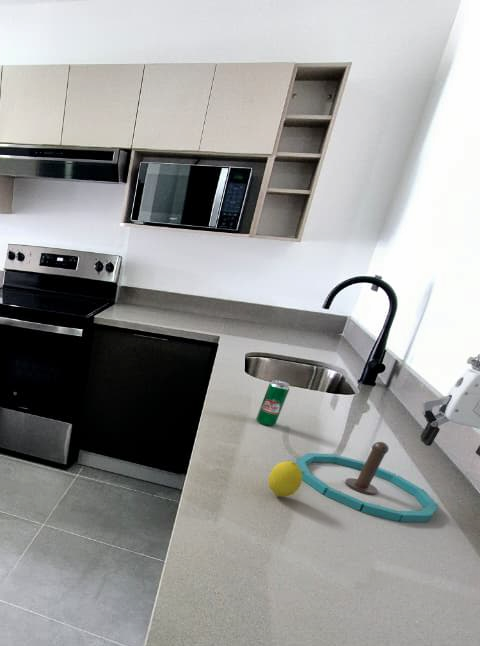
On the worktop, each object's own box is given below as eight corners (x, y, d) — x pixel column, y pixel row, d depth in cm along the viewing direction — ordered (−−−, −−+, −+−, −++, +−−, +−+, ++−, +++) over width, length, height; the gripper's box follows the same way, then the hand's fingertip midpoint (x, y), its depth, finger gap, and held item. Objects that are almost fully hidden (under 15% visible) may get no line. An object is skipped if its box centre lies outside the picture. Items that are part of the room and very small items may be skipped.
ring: (405, 478, 117) (408, 472, 116) (455, 536, 95) (460, 530, 94) (287, 449, 124) (290, 443, 123) (308, 497, 101) (311, 491, 101)
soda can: (254, 422, 139) (269, 381, 134) (257, 417, 143) (272, 378, 138) (273, 428, 136) (289, 387, 131) (276, 423, 140) (292, 383, 135)
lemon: (288, 507, 97) (304, 471, 93) (259, 494, 100) (273, 459, 97) (296, 498, 101) (311, 463, 97) (267, 486, 104) (281, 452, 100)
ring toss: (371, 485, 111) (394, 441, 107) (380, 497, 106) (404, 451, 101) (341, 477, 113) (362, 433, 108) (349, 489, 107) (371, 444, 103)
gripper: (455, 363, 93) (410, 445, 100) (569, 385, 88) (514, 469, 95) (438, 354, 99) (397, 431, 106) (543, 375, 95) (493, 454, 102)
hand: (452, 449), depth 101 cm, fingers open, 9 cm apart
